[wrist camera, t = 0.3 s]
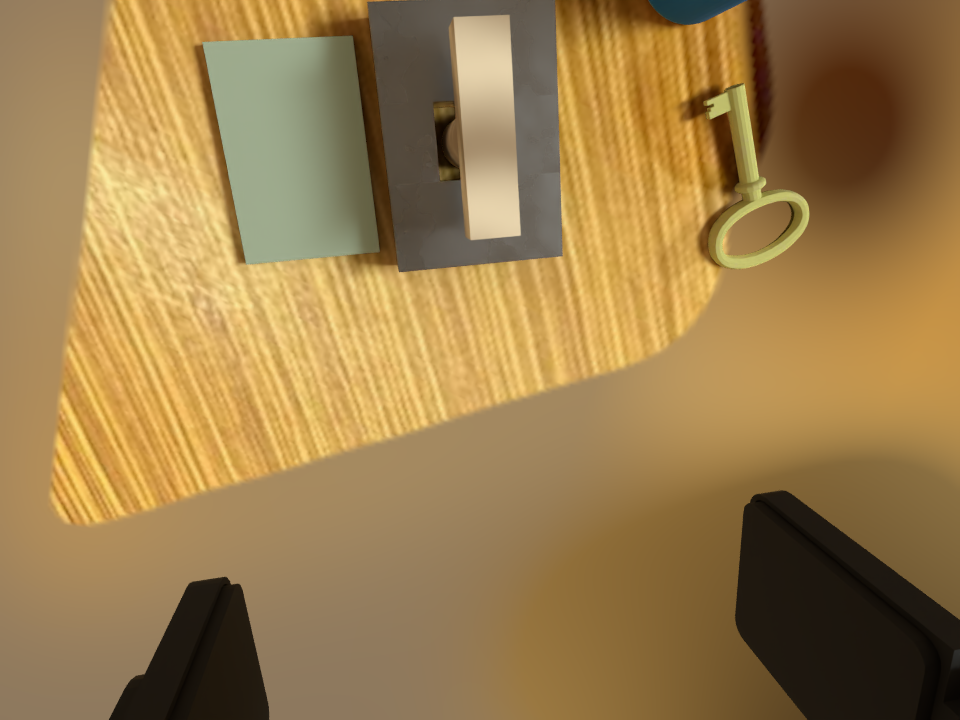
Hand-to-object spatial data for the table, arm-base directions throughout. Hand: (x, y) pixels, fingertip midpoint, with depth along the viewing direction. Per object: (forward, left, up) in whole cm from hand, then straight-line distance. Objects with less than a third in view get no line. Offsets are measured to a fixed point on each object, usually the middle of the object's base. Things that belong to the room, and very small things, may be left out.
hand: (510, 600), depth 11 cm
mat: (-9, -6, -29) cm, 31 cm away
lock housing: (-9, +4, -29) cm, 31 cm away
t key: (-9, +4, -29) cm, 31 cm away
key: (-5, +23, -30) cm, 38 cm away
